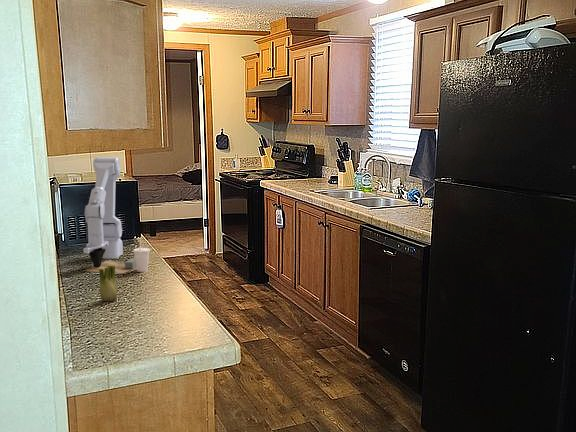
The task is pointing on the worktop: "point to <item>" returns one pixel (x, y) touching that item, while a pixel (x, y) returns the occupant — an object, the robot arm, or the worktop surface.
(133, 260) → the block
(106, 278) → the fennel bulb
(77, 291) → the worktop surface
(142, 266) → the smoothie
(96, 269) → the board
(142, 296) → the worktop surface
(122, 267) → the laid strip
